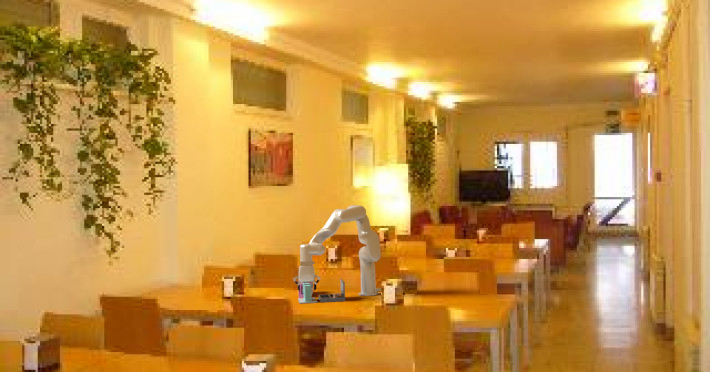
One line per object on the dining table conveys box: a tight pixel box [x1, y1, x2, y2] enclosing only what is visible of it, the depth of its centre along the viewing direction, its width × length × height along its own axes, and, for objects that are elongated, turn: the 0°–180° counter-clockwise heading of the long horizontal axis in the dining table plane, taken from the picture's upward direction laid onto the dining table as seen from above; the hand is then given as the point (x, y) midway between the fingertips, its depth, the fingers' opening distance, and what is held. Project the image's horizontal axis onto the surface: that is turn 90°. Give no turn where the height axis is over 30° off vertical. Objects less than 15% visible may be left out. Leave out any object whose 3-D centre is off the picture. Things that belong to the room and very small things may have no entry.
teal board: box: [303, 283, 313, 302], centre depth 512 cm, size 4×12×10 cm, turn 8°
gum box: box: [297, 278, 314, 299], centre depth 537 cm, size 24×8×14 cm, turn 178°
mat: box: [297, 297, 318, 305], centre depth 513 cm, size 11×16×1 cm
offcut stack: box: [332, 292, 343, 298], centre depth 515 cm, size 4×12×4 cm, turn 14°
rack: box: [317, 278, 346, 303], centre depth 515 cm, size 15×15×12 cm
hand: (307, 291), depth 512 cm, fingers open, 9 cm apart
